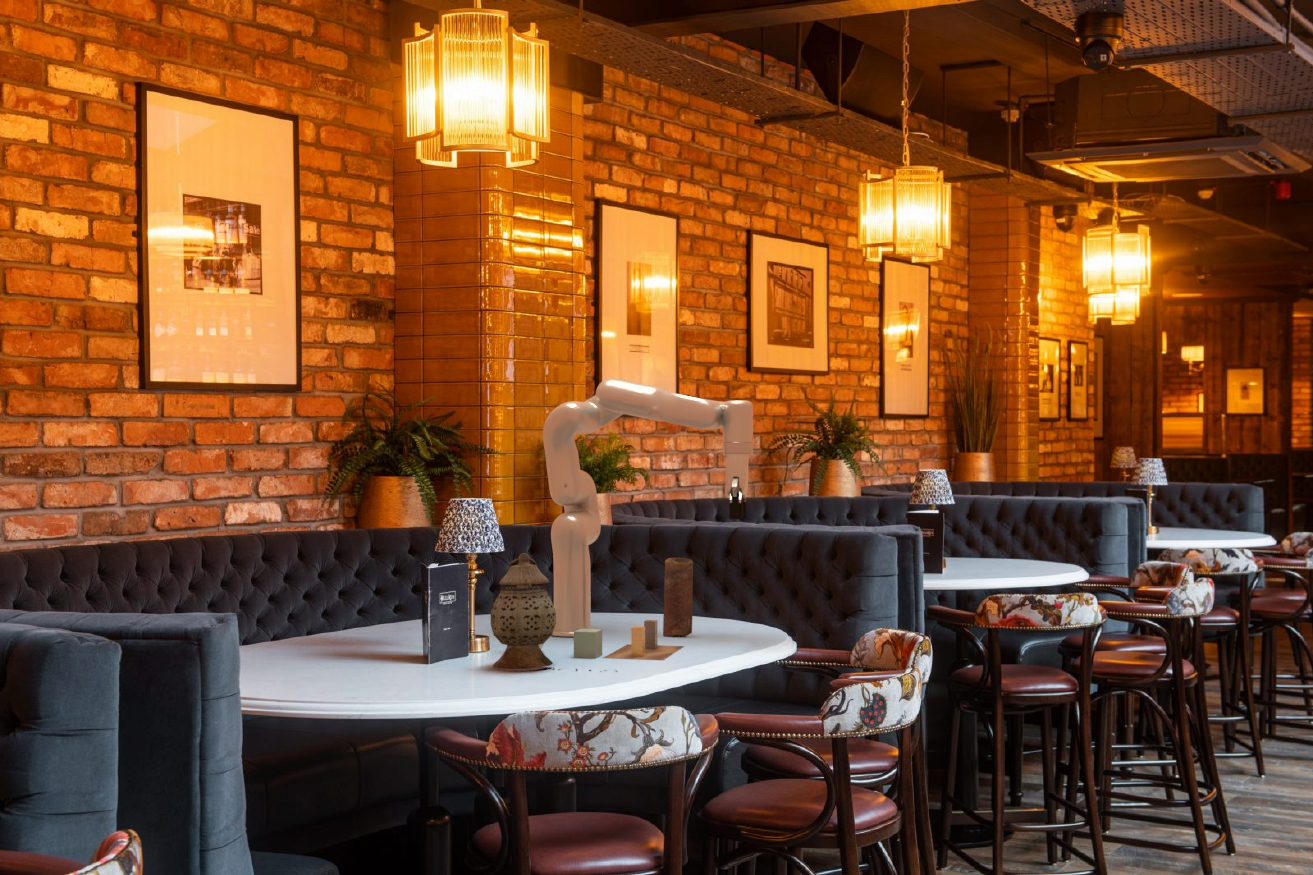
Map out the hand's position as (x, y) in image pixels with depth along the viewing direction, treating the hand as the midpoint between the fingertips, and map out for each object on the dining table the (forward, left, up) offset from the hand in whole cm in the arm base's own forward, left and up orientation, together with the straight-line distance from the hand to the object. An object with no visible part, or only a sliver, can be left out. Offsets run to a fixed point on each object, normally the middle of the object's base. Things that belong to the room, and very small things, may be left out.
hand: (738, 518), depth 343 cm
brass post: (-17, -35, -30) cm, 49 cm away
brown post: (-17, -23, -30) cm, 41 cm away
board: (-17, -29, -30) cm, 45 cm away
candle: (-16, +2, -31) cm, 35 cm away
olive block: (-28, -38, -30) cm, 56 cm away
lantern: (-39, -51, -31) cm, 71 cm away
